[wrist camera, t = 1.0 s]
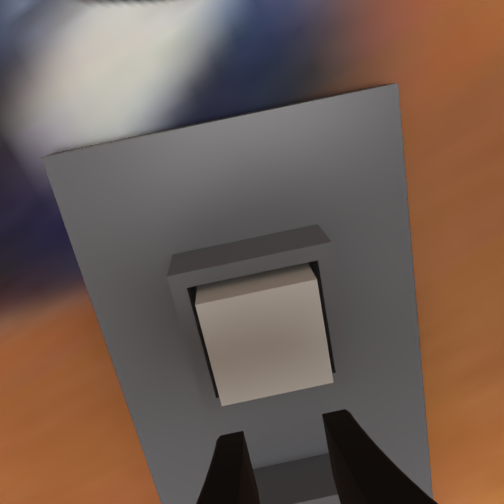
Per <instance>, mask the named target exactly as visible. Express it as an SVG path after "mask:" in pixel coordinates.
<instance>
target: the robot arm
mask: <svg viewBox="0 0 504 504" xmlns="http://www.w3.org/2000/svg"><path fill="white" fill-rule="evenodd" d="M322 417H323V423H324V429H325V434H326V440H327V446H328V451H329V457H330V463H331V468H332V474H333V478H334V482H335V485H336V489H337V493H338V496H339V500H340V503H341V504H438V503H436V502H435V501H434V500H433V499H432V498H431V497H430V496H428V495H427V494H426V493H425V492H424V491H423V490H422V489H421V488H419V487H418V486H417V485H416V484H415V483H414V482H413V481H412V480H411V479H410V478H409V477H408V476H406V475H405V474H404V473H403V472H402V471H401V470H400V469H399V468H398V467H397V466H396V465H395V464H394V463H393V462H392V461H391V460H390V459H389V458H388V456H387V455H386V454H385V453H384V452H383V451H382V450H381V449H380V448H379V447H378V446H377V445H376V444H375V443H374V441H373V440H372V439H371V438H370V437H369V436H368V435H367V433H366V432H365V431H364V430H363V429H362V427H361V426H360V425H359V424H358V422H357V421H356V420H355V419H354V417H353V416H352V414H351V413H350V412H349V411H347V410H346V409H343V410H338V411H334V412H329V413H324V414H322ZM196 504H260V500H259V492H258V488H257V484H256V480H255V476H254V472H253V468H252V464H251V460H250V456H249V452H248V448H247V444H246V440H245V436H244V432H243V431H240V432H235V433H230V434H225V435H221V436H219V438H218V439H217V441H216V446H215V450H214V453H213V457H212V460H211V464H210V467H209V470H208V473H207V476H206V479H205V482H204V484H203V487H202V490H201V492H200V495H199V498H198V500H197V503H196Z"/></svg>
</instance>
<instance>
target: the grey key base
mask: <svg viewBox="0 0 504 504" xmlns="http://www.w3.org/2000/svg"><path fill="white" fill-rule="evenodd" d="M41 158H42V161H43V164H44V166H45V169H46V172H47V175H48V178H49V181H50V184H51V187H52V189H53V192H54V195H55V198H56V201H57V204H58V207H59V210H60V213H61V215H62V218H63V221H64V224H65V227H66V230H67V233H68V236H69V239H70V241H71V244H72V247H73V250H74V253H75V256H76V259H77V262H78V264H79V267H80V270H81V273H82V276H83V279H84V282H85V285H86V288H87V290H88V293H89V296H90V299H91V302H92V305H93V308H94V311H95V314H96V316H97V319H98V322H99V325H100V328H101V331H102V334H103V337H104V339H105V342H106V345H107V348H108V351H109V354H110V357H111V360H112V363H113V365H114V368H115V371H116V374H117V377H118V380H119V383H120V386H121V389H122V391H123V394H124V397H125V400H126V403H127V406H128V409H129V412H130V414H131V417H132V420H133V423H134V426H135V429H136V432H137V435H138V438H139V440H140V443H141V446H142V449H143V452H144V455H145V458H146V461H147V464H148V466H149V469H150V472H151V475H152V478H153V481H154V484H155V487H156V490H157V492H158V495H159V498H160V501H161V504H196V503H197V500H198V498H199V495H200V492H201V490H202V487H203V484H204V482H205V479H206V476H207V473H208V470H209V467H210V464H211V460H212V457H213V453H214V450H215V446H216V441H217V439H218V438H219V436H221V435H225V434H230V433H235V432H240V431H243V432H244V436H245V440H246V444H247V448H248V452H249V456H250V460H251V464H252V468H253V472H254V476H255V480H256V484H257V488H258V492H259V500H260V504H341V503H340V500H339V496H338V493H337V489H336V485H335V482H334V478H333V474H332V468H331V463H330V457H329V451H328V446H327V440H326V434H325V429H324V423H323V417H322V414H324V413H329V412H334V411H338V410H343V409H346V410H347V411H349V412H350V413H351V414H352V416H353V417H354V419H355V420H356V421H357V422H358V424H359V425H360V426H361V427H362V429H363V430H364V431H365V432H366V433H367V435H368V436H369V437H370V438H371V439H372V440H373V441H374V443H375V444H376V445H377V446H378V447H379V448H380V449H381V450H382V451H383V452H384V453H385V454H386V455H387V456H388V458H389V459H390V460H391V461H392V462H393V463H394V464H395V465H396V466H397V467H398V468H399V469H400V470H401V471H402V472H403V473H404V474H405V475H406V476H408V477H409V478H410V479H411V480H412V481H413V482H414V483H415V484H416V485H417V486H418V487H419V488H421V489H422V490H423V491H424V492H425V493H426V494H427V495H428V496H430V497H431V498H432V499H433V494H432V482H431V470H430V458H429V446H428V435H427V423H426V411H425V399H424V387H423V375H422V363H421V351H420V339H419V328H418V316H417V304H416V292H415V280H414V268H413V256H412V244H411V232H410V221H409V209H408V197H407V185H406V173H405V161H404V149H403V137H402V125H401V113H400V102H399V90H398V83H393V84H383V85H378V86H373V87H369V88H364V89H359V90H354V91H349V92H345V93H340V94H335V95H330V96H326V97H321V98H316V99H311V100H306V101H302V102H297V103H292V104H287V105H282V106H278V107H273V108H268V109H263V110H258V111H254V112H249V113H244V114H239V115H234V116H230V117H225V118H220V119H215V120H211V121H206V122H201V123H196V124H191V125H187V126H182V127H177V128H172V129H167V130H163V131H158V132H153V133H148V134H143V135H139V136H134V137H129V138H124V139H120V140H115V141H110V142H105V143H100V144H96V145H91V146H86V147H81V148H76V149H72V150H67V151H62V152H57V153H53V154H50V155H47V156H44V157H41ZM307 262H308V264H309V266H310V268H311V269H312V271H313V273H314V275H315V277H316V279H317V283H318V289H319V295H320V302H321V308H322V314H323V320H324V326H325V332H326V339H327V345H328V351H329V357H330V363H331V370H332V376H333V382H334V383H330V384H325V385H320V386H315V387H311V388H306V389H301V390H297V391H292V392H287V393H282V394H278V395H273V396H268V397H264V398H259V399H254V400H249V401H245V402H240V403H235V404H231V405H226V406H222V405H221V401H220V397H219V394H218V390H217V386H216V382H215V378H214V375H213V371H212V367H211V363H210V360H209V356H208V352H207V348H206V344H205V341H204V337H203V333H202V329H201V325H200V322H199V318H198V314H197V310H196V306H195V301H196V292H197V286H198V285H203V284H208V283H212V282H217V281H222V280H226V279H231V278H236V277H241V276H245V275H250V274H255V273H260V272H264V271H269V270H274V269H279V268H283V267H288V266H293V265H298V264H302V263H307Z"/></svg>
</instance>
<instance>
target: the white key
mask: <svg viewBox="0 0 504 504" xmlns="http://www.w3.org/2000/svg"><path fill="white" fill-rule="evenodd" d="M195 306H196V310H197V314H198V318H199V322H200V325H201V329H202V333H203V337H204V341H205V344H206V348H207V352H208V356H209V360H210V363H211V367H212V371H213V375H214V378H215V382H216V386H217V390H218V394H219V397H220V401H221V405H222V406H226V405H231V404H235V403H240V402H245V401H249V400H254V399H259V398H264V397H268V396H273V395H278V394H282V393H287V392H292V391H297V390H301V389H306V388H311V387H315V386H320V385H325V384H330V383H334V382H333V376H332V370H331V363H330V357H329V351H328V345H327V339H326V332H325V326H324V320H323V314H322V308H321V302H320V295H319V289H318V283H317V279H316V277H315V275H314V273H313V271H312V269H311V268H310V266H309V264H308V262H307V263H302V264H298V265H293V266H288V267H283V268H279V269H274V270H269V271H264V272H260V273H255V274H250V275H245V276H241V277H236V278H231V279H226V280H222V281H217V282H212V283H208V284H203V285H198V286H197V292H196V301H195Z"/></svg>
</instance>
